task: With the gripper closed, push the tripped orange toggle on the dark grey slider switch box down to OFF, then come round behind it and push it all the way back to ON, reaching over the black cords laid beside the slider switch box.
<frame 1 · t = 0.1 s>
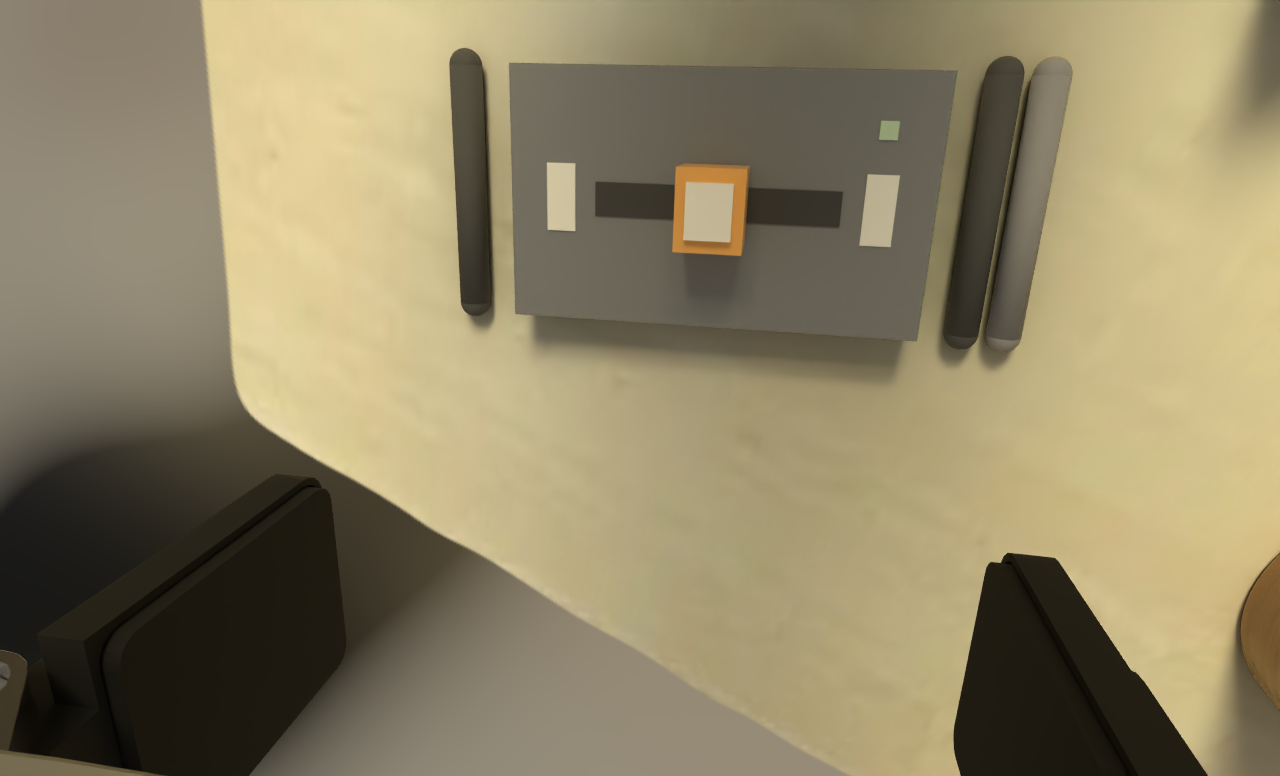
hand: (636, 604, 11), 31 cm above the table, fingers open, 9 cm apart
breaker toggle: (711, 208, 34), point 5 cm above the table, slide at 4.0 cm
cord A: (977, 209, 37), on the table
slider switch box: (719, 198, 39), on the table
cord C: (476, 188, 41), on the table
cord B: (1021, 211, 37), on the table
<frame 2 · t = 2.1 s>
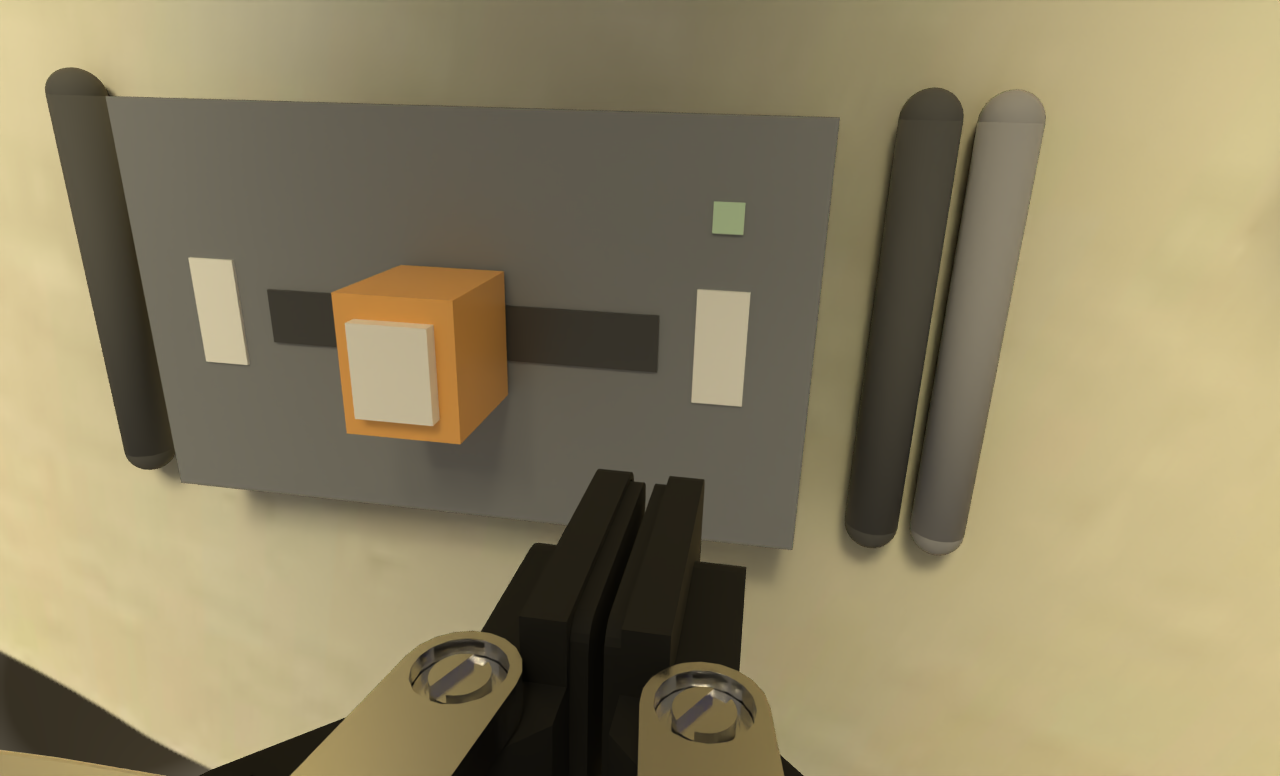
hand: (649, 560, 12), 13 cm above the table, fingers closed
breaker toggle: (425, 351, 20), point 5 cm above the table, slide at 4.0 cm
cord A: (894, 332, 23), on the table
slider switch box: (493, 305, 25), on the table
cord C: (135, 280, 27), on the table
cord B: (963, 337, 23), on the table
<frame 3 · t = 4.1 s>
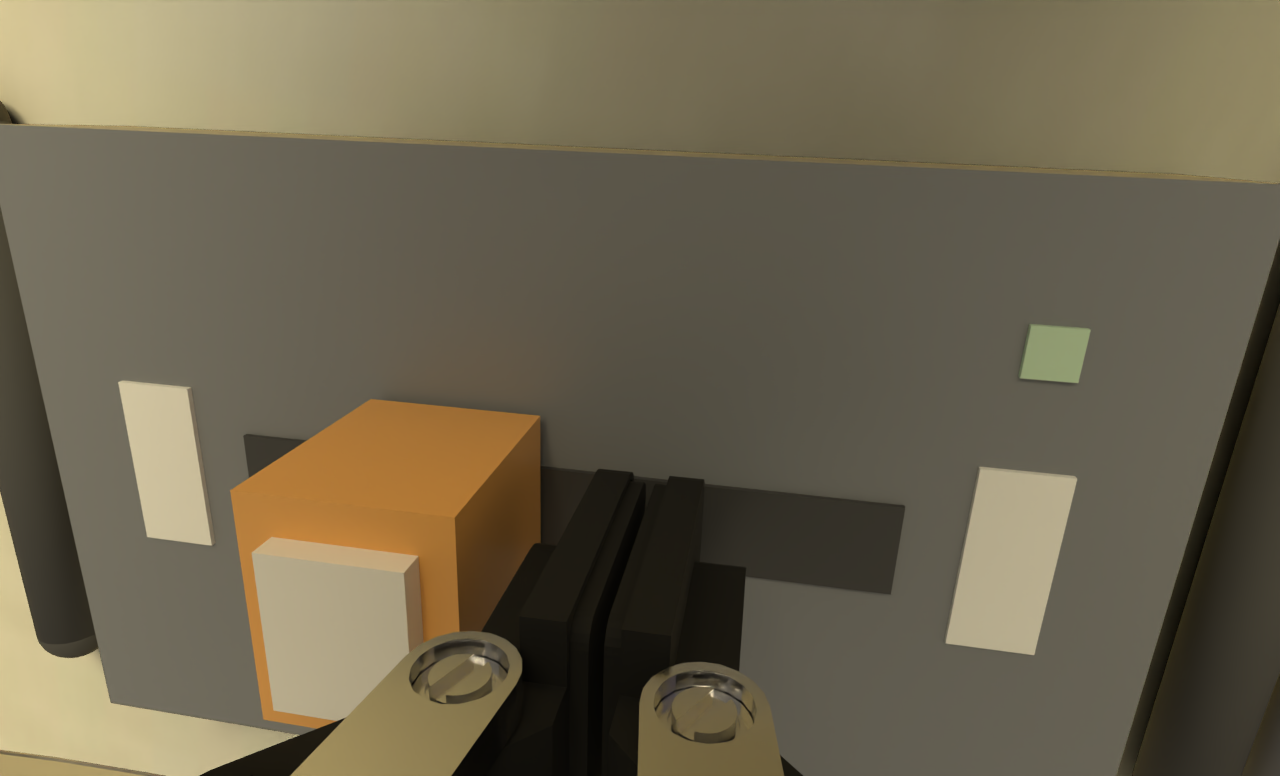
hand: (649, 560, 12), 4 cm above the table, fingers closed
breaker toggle: (406, 562, 12), point 5 cm above the table, slide at 2.3 cm, touching gripper
cord A: (1241, 511, 14), on the table
slider switch box: (592, 444, 16), on the table
cord C: (56, 388, 18), on the table
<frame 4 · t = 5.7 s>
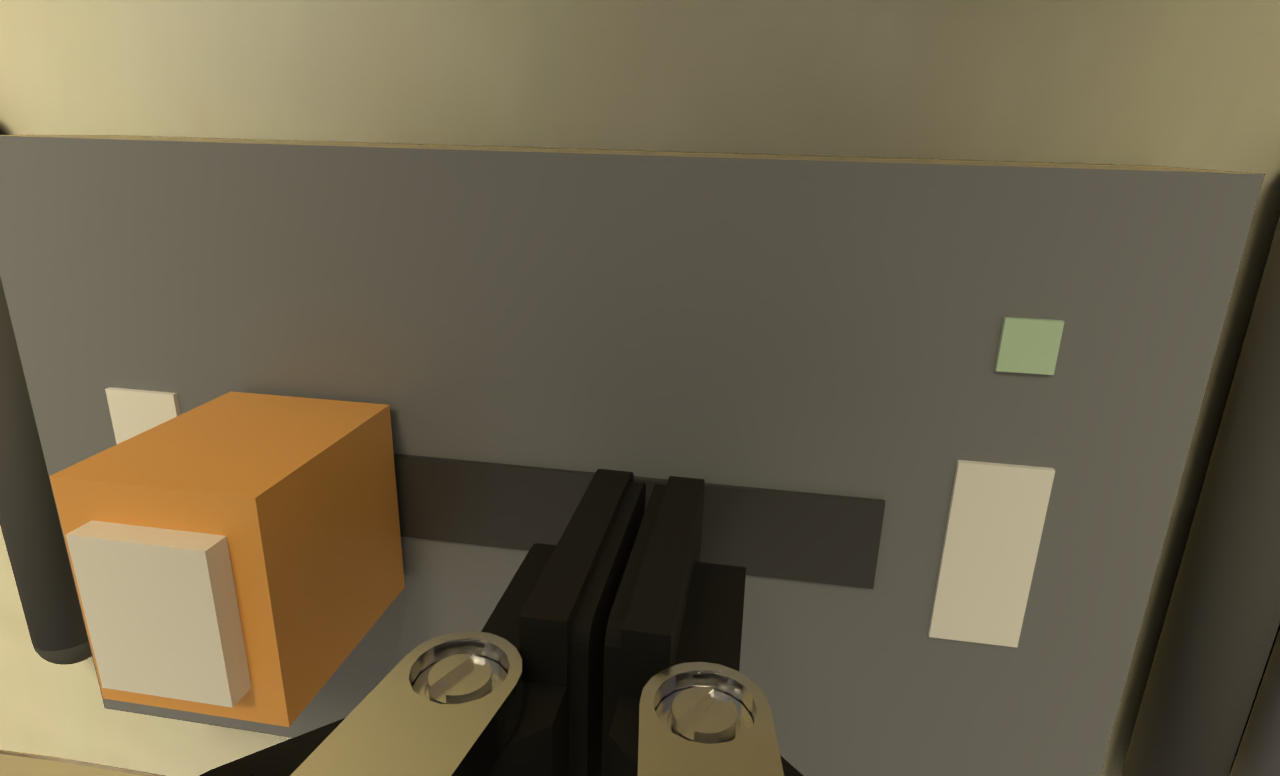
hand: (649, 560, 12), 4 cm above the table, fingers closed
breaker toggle: (248, 547, 12), point 5 cm above the table, slide at 0.0 cm
cord A: (1225, 501, 14), on the table
slider switch box: (579, 444, 16), on the table
cord C: (47, 397, 18), on the table
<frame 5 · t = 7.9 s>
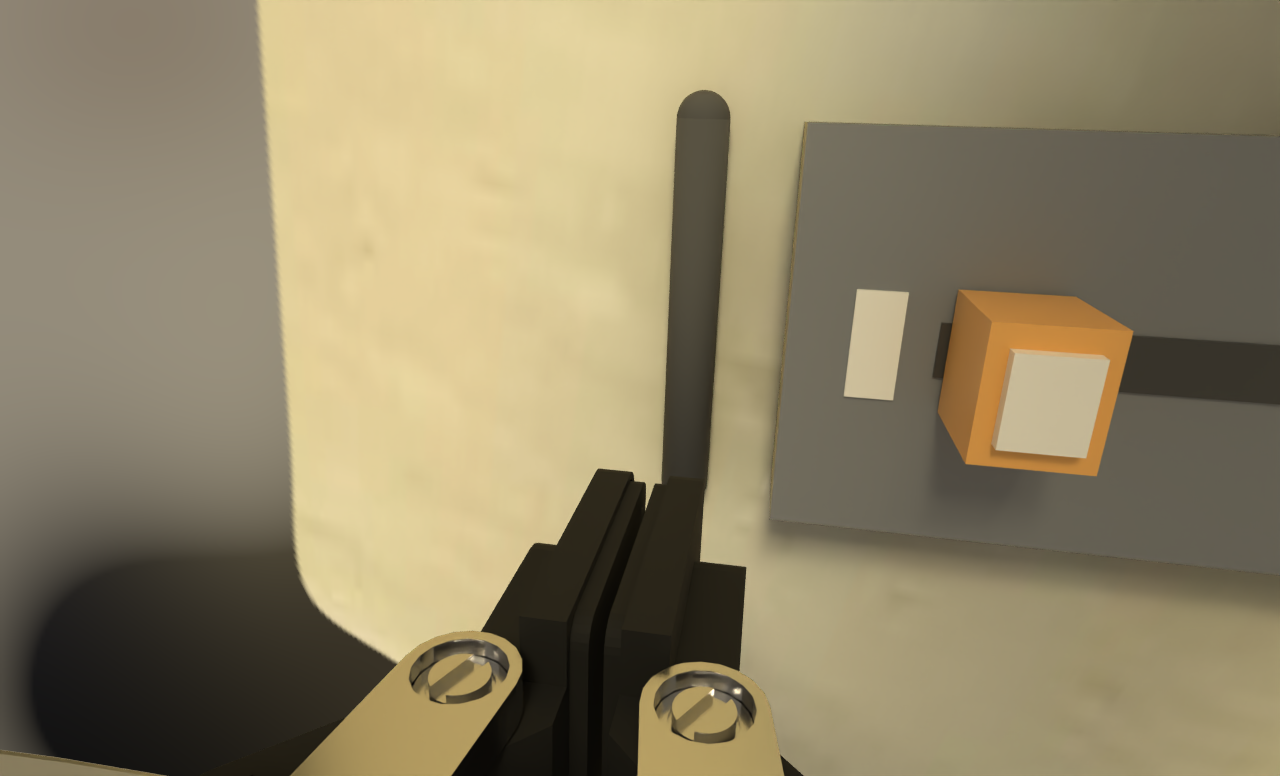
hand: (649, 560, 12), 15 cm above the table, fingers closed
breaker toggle: (1025, 379, 19), point 5 cm above the table, slide at 0.0 cm
slider switch box: (1113, 336, 24), on the table
cord C: (695, 308, 26), on the table
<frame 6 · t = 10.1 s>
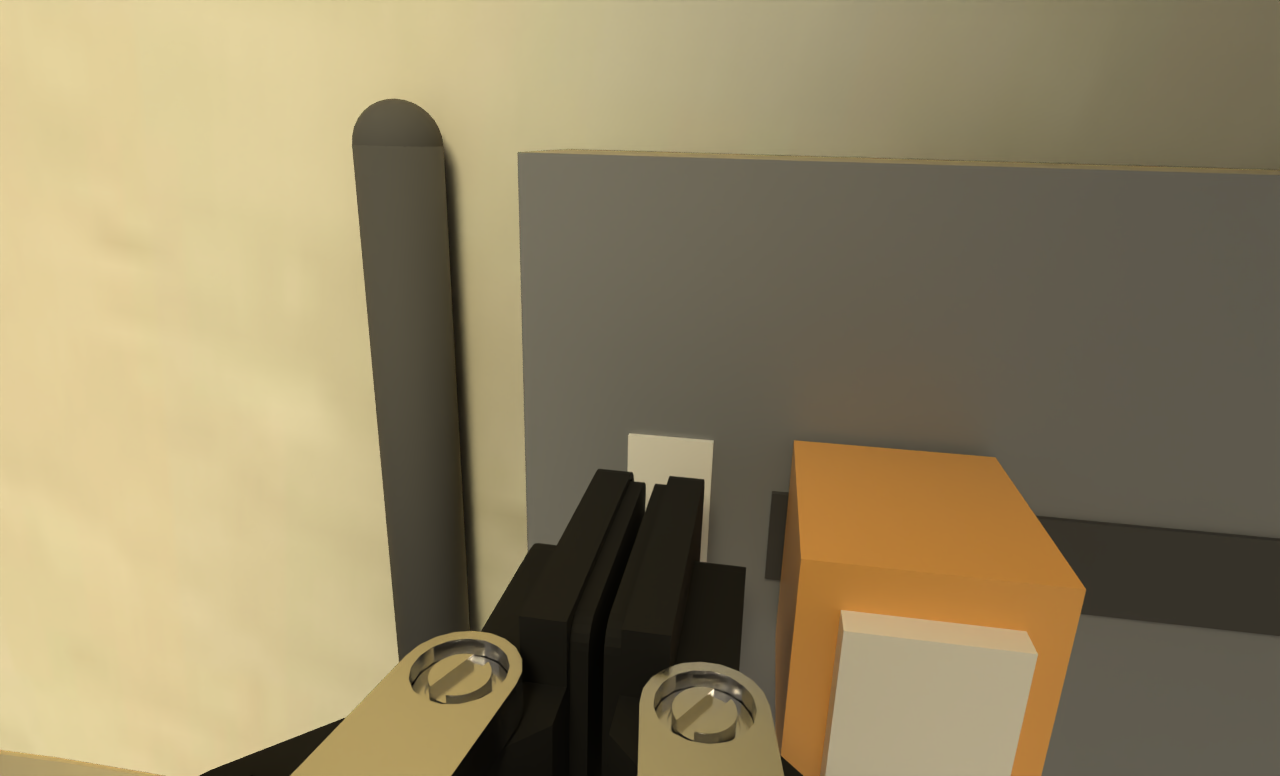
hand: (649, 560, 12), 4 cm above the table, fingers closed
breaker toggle: (896, 625, 10), point 5 cm above the table, slide at 0.0 cm, touching gripper
slider switch box: (1073, 489, 15), on the table
cord C: (436, 432, 17), on the table
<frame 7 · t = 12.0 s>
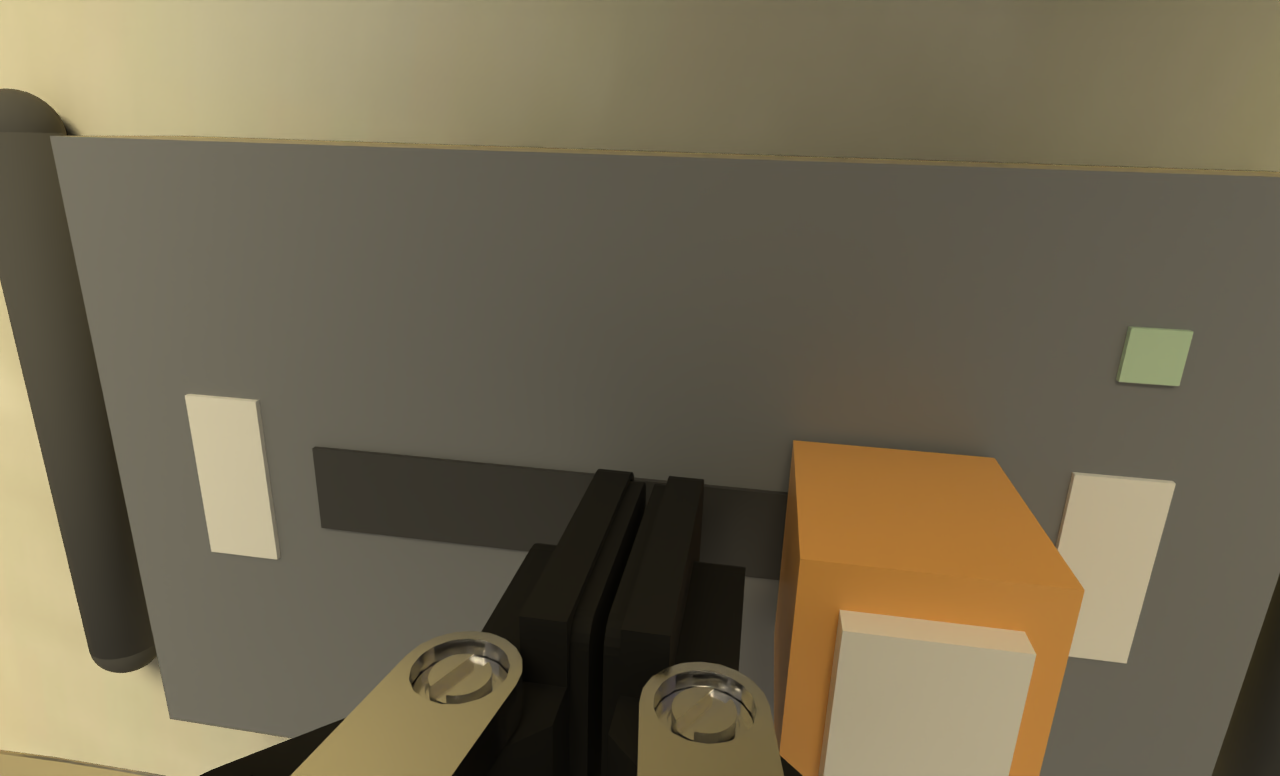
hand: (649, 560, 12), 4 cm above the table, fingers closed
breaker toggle: (895, 625, 10), point 5 cm above the table, slide at 8.1 cm, touching gripper
slider switch box: (656, 452, 16), on the table
cord C: (107, 401, 18), on the table
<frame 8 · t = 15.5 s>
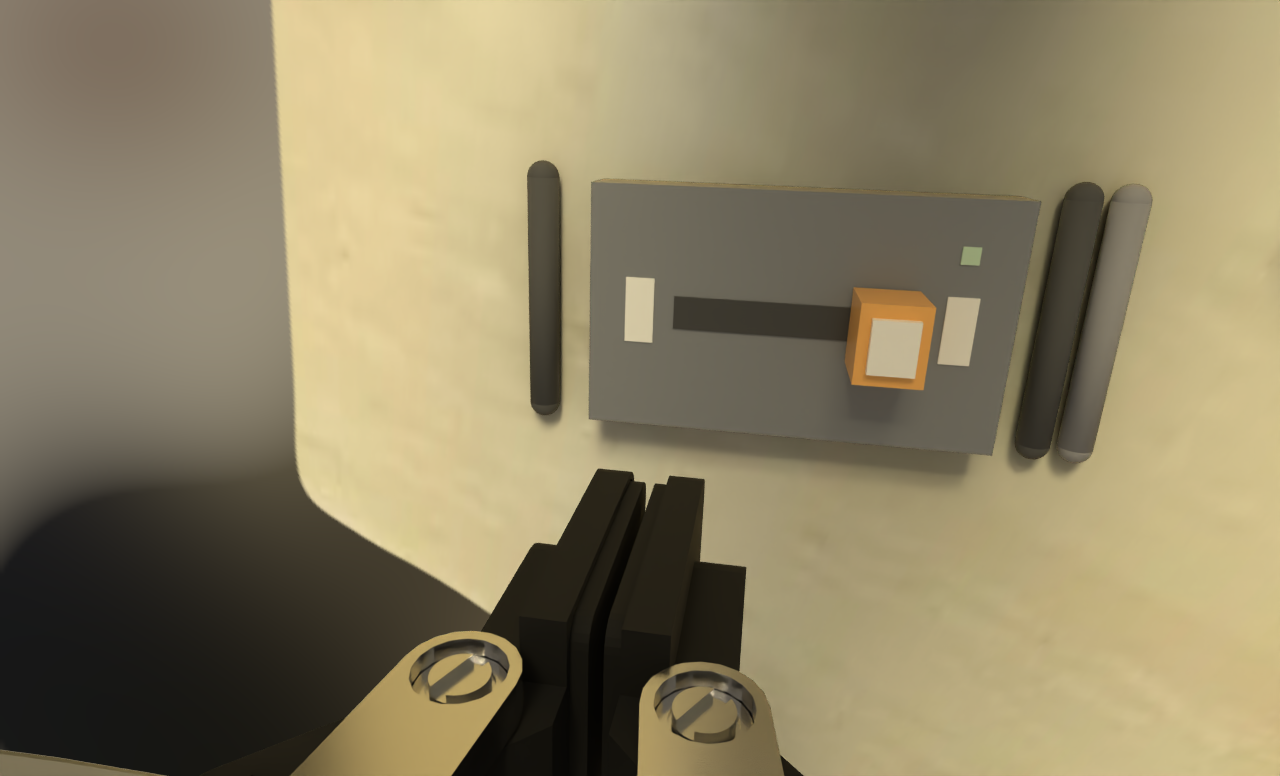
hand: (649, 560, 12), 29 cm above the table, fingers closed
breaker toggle: (887, 337, 34), point 5 cm above the table, slide at 8.0 cm
cord A: (1051, 324, 37), on the table
slider switch box: (792, 307, 39), on the table
cord C: (548, 291, 41), on the table
cord B: (1094, 327, 37), on the table
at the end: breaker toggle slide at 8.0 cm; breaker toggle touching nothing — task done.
